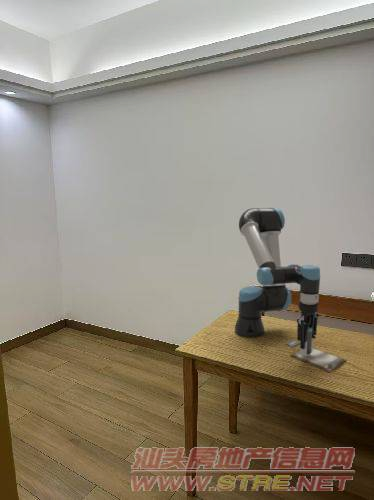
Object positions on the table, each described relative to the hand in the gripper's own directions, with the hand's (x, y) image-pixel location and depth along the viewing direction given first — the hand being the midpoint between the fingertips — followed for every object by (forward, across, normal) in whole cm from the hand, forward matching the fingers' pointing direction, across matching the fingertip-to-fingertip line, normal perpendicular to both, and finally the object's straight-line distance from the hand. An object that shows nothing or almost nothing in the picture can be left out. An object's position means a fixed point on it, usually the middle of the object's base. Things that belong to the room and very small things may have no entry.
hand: (306, 353), depth 145 cm
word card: (+2, +7, +11) cm, 13 cm away
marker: (0, 0, 0) cm, 0 cm away
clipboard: (+2, +3, -4) cm, 5 cm away
